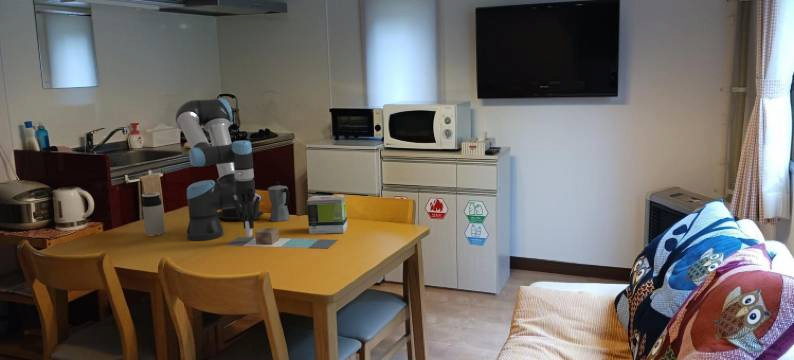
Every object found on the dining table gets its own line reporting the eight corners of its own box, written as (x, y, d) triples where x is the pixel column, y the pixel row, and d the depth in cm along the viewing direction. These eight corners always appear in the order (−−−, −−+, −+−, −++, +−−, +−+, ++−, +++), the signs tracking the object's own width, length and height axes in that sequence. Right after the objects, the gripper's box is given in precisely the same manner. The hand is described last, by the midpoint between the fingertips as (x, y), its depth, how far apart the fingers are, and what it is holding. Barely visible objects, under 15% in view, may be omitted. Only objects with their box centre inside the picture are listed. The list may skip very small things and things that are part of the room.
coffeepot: (263, 219, 309) (260, 181, 305) (280, 215, 315) (277, 178, 312) (282, 224, 298) (279, 185, 294) (299, 220, 304) (296, 182, 301)
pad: (280, 248, 261) (280, 246, 261) (291, 239, 272) (291, 238, 272) (308, 249, 258) (308, 247, 258) (319, 240, 270) (319, 239, 270)
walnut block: (256, 244, 266) (255, 232, 265) (263, 239, 273) (262, 227, 272) (272, 244, 264) (271, 232, 263) (279, 239, 271) (278, 228, 270)
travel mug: (149, 237, 284) (145, 196, 281) (142, 234, 290) (138, 194, 287) (167, 233, 289) (163, 193, 286) (160, 230, 295) (156, 191, 292)
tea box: (347, 227, 287) (345, 194, 285) (343, 233, 277) (341, 199, 275) (313, 228, 289) (311, 195, 286) (308, 234, 279) (306, 200, 276)
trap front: (308, 249, 258) (308, 247, 258) (319, 240, 270) (319, 239, 270) (328, 249, 256) (327, 248, 256) (337, 241, 268) (337, 239, 268)
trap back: (224, 246, 267) (224, 245, 267) (238, 238, 278) (238, 237, 278) (243, 247, 265) (242, 245, 265) (256, 239, 276) (256, 237, 276)
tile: (243, 247, 265) (242, 245, 265) (256, 239, 276) (256, 237, 276) (280, 248, 261) (280, 246, 261) (291, 239, 272) (291, 238, 272)
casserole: (272, 214, 318) (270, 197, 316) (248, 224, 301) (247, 206, 300) (230, 211, 328) (228, 195, 326) (205, 220, 311) (203, 203, 310)
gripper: (225, 181, 264) (230, 238, 268) (255, 180, 260) (260, 238, 264) (234, 177, 271) (239, 233, 275) (263, 177, 268) (268, 234, 272)
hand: (249, 236), depth 270 cm, fingers closed
